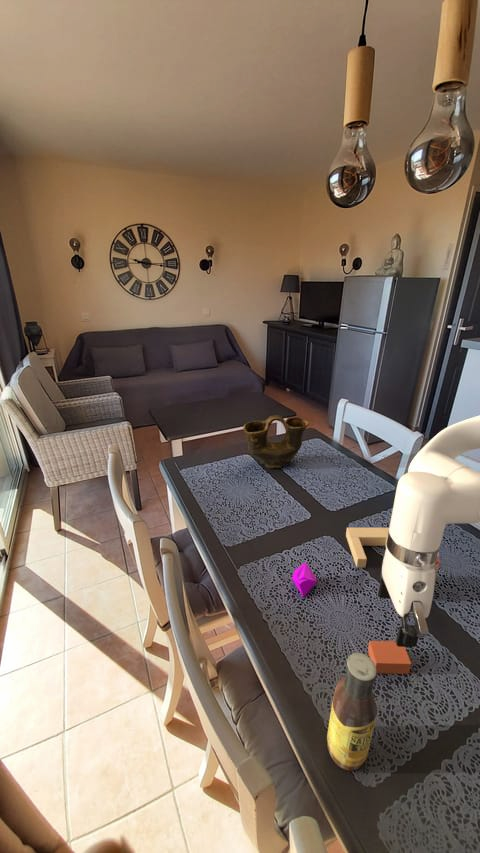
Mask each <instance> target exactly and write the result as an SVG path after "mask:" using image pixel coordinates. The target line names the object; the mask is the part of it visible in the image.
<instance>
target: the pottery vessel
mask: <svg viewBox="0 0 480 853" xmlns="http://www.w3.org/2000/svg"><path fill="white" fill-rule="evenodd" d="M275 421H278V422H280V423H281V424H282V425H283V427H284V430H285V433H284V434H285V435H284V437H283V439H282V440H273V441H272V440H269V439H268V432H269V430H270V426H271V425H273V422H275ZM309 425H310V422H309V421H307V419H306V420H305V419H303V418H301V417H290V418H286V419H284V418H283V416H281V415H278V414H275V415H270V416H269V417H268V418H267V419H266V420H258V419H256V420H253V421H249V422H246V423H245V424H243V428H242V429H243V432H244V433H245V438H246V441H247V450H248V453H249V455H251V456H252V457H254V458H256V459H258V460H259V462H260V464H261V465H263V464H264V467H266V468H267V469H281V467H283V466H284V465H287V464H290V462H291V461H292V460H293V459H294V458H296V455H297V454H298V453H299V452H300V449H301V447H302V445H303V439H302V438H303V435H304V432H305V431H306V429H307V428H308V426H309Z"/></svg>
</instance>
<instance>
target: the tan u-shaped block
mask: <svg viewBox="0 0 480 853" xmlns="http://www.w3.org/2000/svg"><path fill="white" fill-rule="evenodd" d="M388 532H389V527H346V532H345V538H346V540H347V544H348V546H349V549H350V552H351V555H352V558H353V562H354V565H355V568H357V569H361V568H362V569H366V567H367V561H368V559H367V558H368V557H367V556H366V553H365V550H364V548H363V546H367V547H370V546H371V547H373V546H374V547H385V548H386V543H387V537H388Z"/></svg>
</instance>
